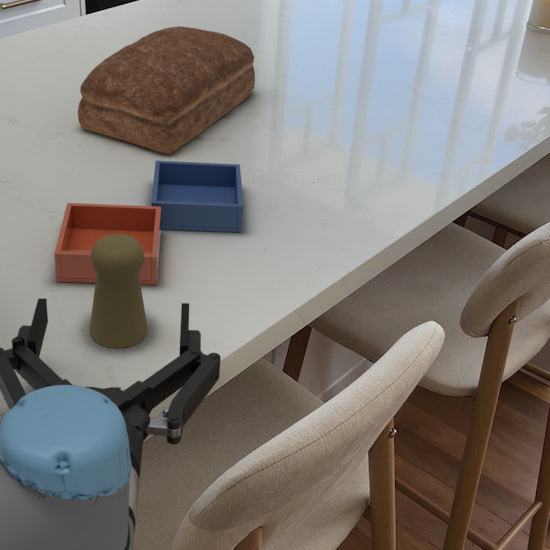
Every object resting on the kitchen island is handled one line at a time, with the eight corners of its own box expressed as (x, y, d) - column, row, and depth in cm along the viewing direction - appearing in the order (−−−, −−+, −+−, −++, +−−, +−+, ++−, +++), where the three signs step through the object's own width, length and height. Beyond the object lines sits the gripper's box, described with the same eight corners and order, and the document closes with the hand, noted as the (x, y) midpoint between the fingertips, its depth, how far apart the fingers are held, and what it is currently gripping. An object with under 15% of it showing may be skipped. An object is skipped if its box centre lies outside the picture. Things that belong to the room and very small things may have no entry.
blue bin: (151, 229, 110) (151, 202, 108) (155, 185, 119) (155, 160, 117) (241, 232, 111) (243, 206, 109) (238, 189, 121) (240, 164, 118)
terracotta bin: (56, 282, 99) (54, 253, 97) (68, 229, 109) (67, 202, 106) (156, 285, 100) (157, 257, 98) (160, 233, 110) (161, 206, 108)
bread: (71, 130, 131) (68, 56, 124) (173, 69, 153) (174, 4, 147) (171, 160, 126) (173, 84, 119) (261, 93, 148) (267, 26, 142)
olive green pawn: (98, 353, 90) (95, 263, 84) (83, 318, 94) (79, 230, 88) (155, 341, 92) (156, 253, 86) (138, 308, 97) (138, 222, 90)
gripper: (-70, 508, 69) (-14, 338, 87) (248, 511, 72) (240, 345, 89) (-83, 439, 65) (-22, 275, 83) (255, 445, 68) (245, 285, 85)
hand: (114, 311), depth 86 cm, fingers open, 13 cm apart
